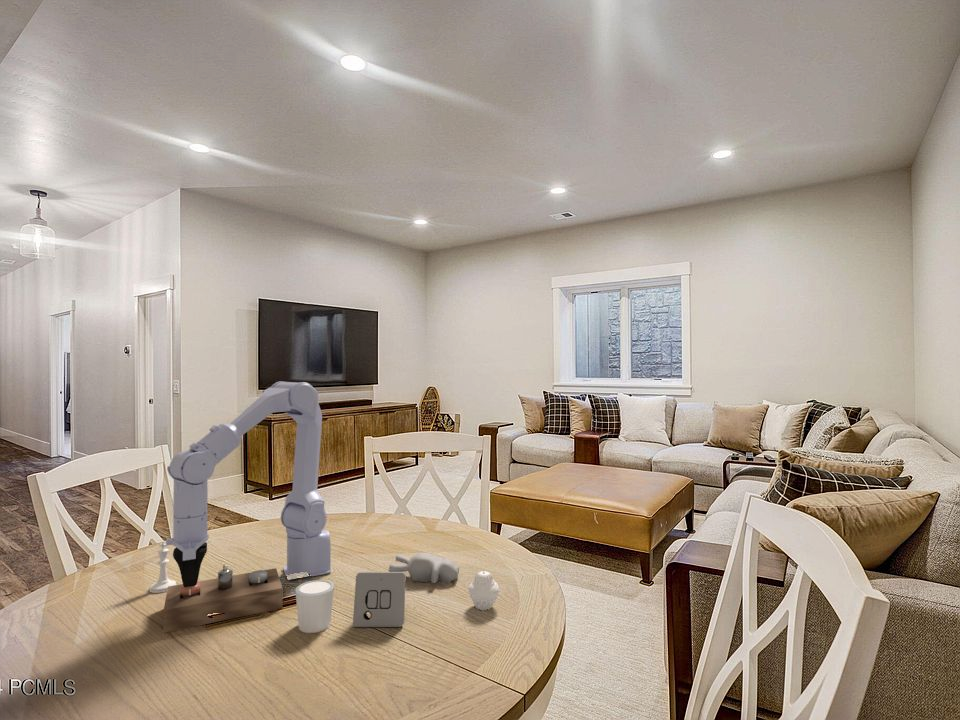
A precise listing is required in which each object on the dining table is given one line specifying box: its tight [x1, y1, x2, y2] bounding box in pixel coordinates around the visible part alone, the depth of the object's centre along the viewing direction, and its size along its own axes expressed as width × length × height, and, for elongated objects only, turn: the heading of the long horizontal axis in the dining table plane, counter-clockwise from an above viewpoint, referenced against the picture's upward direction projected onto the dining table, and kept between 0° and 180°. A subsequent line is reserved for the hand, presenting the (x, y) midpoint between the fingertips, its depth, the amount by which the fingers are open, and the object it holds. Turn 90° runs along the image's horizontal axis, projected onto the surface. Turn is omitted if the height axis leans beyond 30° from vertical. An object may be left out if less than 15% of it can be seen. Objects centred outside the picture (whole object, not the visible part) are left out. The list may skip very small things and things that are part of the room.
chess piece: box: [149, 540, 177, 594], centre depth 111 cm, size 5×5×10 cm
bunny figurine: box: [388, 552, 461, 584], centre depth 116 cm, size 10×5×15 cm
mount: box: [162, 568, 284, 634], centre depth 102 cm, size 20×11×4 cm, turn 118°
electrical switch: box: [352, 571, 407, 628], centre depth 97 cm, size 9×5×9 cm, turn 90°
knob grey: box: [249, 569, 267, 586], centre depth 104 cm, size 3×4×5 cm
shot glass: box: [294, 579, 335, 634], centre depth 95 cm, size 7×7×7 cm
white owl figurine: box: [467, 570, 500, 611], centre depth 102 cm, size 6×6×7 cm
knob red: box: [180, 581, 200, 598], centre depth 99 cm, size 3×4×5 cm
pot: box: [217, 564, 233, 590], centre depth 102 cm, size 3×3×4 cm
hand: (190, 585), depth 99 cm, fingers closed
